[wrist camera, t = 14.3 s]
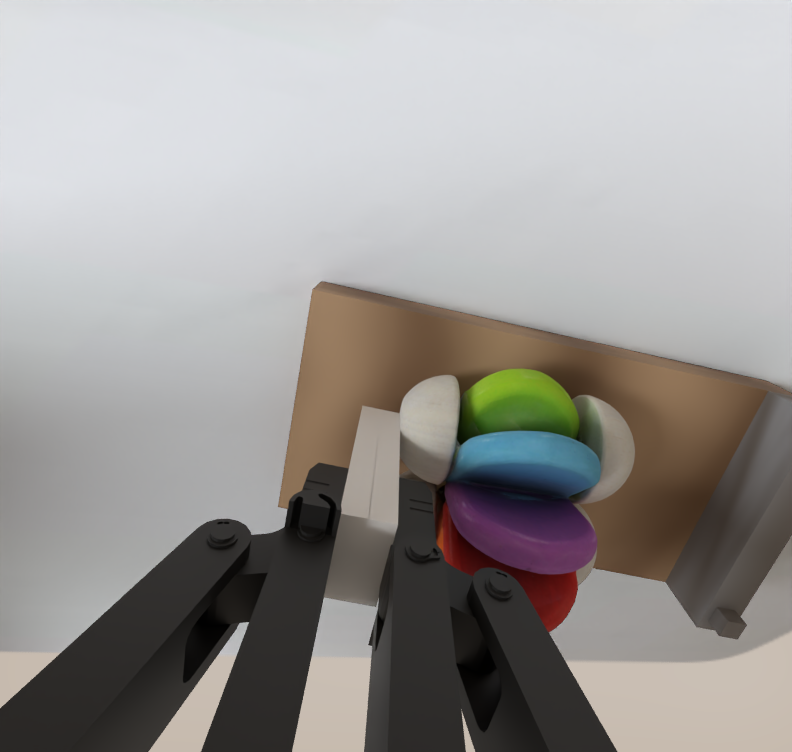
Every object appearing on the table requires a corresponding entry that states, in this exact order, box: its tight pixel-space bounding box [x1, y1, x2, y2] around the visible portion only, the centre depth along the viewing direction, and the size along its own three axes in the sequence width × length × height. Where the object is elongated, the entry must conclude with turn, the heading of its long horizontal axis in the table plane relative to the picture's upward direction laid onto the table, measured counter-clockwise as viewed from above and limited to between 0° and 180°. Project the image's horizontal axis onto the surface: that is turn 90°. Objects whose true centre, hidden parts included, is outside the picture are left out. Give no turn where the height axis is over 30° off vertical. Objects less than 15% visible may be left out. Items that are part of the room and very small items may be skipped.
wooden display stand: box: [278, 281, 792, 639], centre depth 19 cm, size 20×10×5 cm, turn 77°
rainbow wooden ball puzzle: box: [399, 369, 635, 632], centre depth 16 cm, size 8×10×7 cm
